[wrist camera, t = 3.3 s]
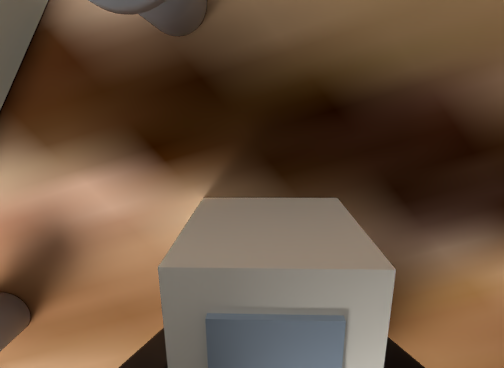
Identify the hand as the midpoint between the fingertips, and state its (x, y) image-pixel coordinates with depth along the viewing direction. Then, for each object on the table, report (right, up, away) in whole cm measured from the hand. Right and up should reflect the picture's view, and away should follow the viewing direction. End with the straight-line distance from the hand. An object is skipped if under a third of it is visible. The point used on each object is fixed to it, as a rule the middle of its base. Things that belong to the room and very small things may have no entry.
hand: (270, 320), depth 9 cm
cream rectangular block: (0, 0, +1) cm, 1 cm away
